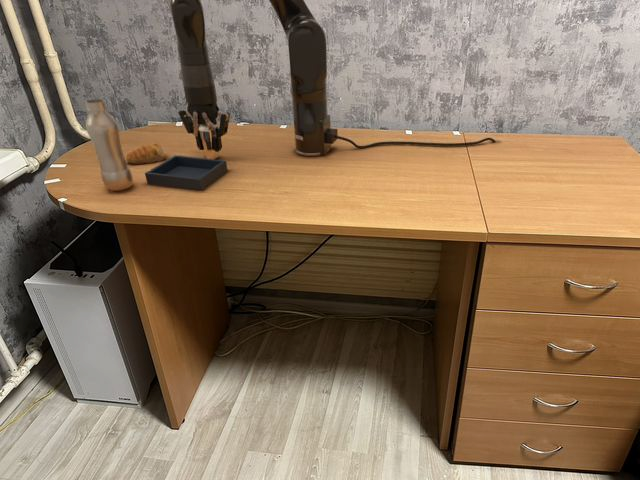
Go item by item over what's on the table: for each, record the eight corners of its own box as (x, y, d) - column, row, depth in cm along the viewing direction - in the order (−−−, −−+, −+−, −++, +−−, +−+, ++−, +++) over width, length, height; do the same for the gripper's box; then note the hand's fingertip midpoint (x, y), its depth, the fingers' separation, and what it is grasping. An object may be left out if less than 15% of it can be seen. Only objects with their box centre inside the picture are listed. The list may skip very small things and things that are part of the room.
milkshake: (206, 162, 127) (199, 124, 121) (201, 155, 131) (195, 118, 125) (223, 159, 129) (217, 122, 123) (218, 153, 132) (212, 116, 127)
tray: (227, 171, 122) (226, 160, 121) (201, 190, 112) (199, 179, 111) (177, 165, 126) (175, 155, 124) (147, 184, 115) (144, 173, 114)
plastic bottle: (117, 196, 110) (90, 106, 99) (99, 189, 113) (70, 102, 102) (141, 186, 114) (118, 99, 103) (123, 180, 117) (98, 95, 106)
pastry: (132, 167, 124) (128, 153, 122) (124, 160, 129) (120, 146, 127) (167, 159, 129) (164, 145, 127) (159, 152, 134) (155, 139, 131)
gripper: (232, 81, 120) (241, 148, 130) (181, 77, 123) (194, 143, 133) (217, 88, 114) (227, 157, 124) (164, 84, 117) (178, 152, 127)
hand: (210, 149), depth 128 cm, fingers closed on milkshake, 4 cm apart
